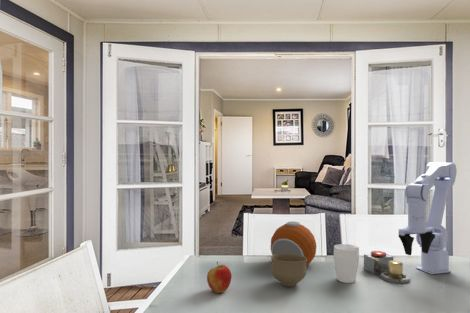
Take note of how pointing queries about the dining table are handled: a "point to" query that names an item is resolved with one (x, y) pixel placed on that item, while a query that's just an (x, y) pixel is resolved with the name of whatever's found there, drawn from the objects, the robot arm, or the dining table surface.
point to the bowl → (288, 268)
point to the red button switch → (381, 266)
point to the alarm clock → (294, 241)
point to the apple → (219, 278)
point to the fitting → (395, 269)
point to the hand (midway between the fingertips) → (416, 253)
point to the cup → (346, 262)
